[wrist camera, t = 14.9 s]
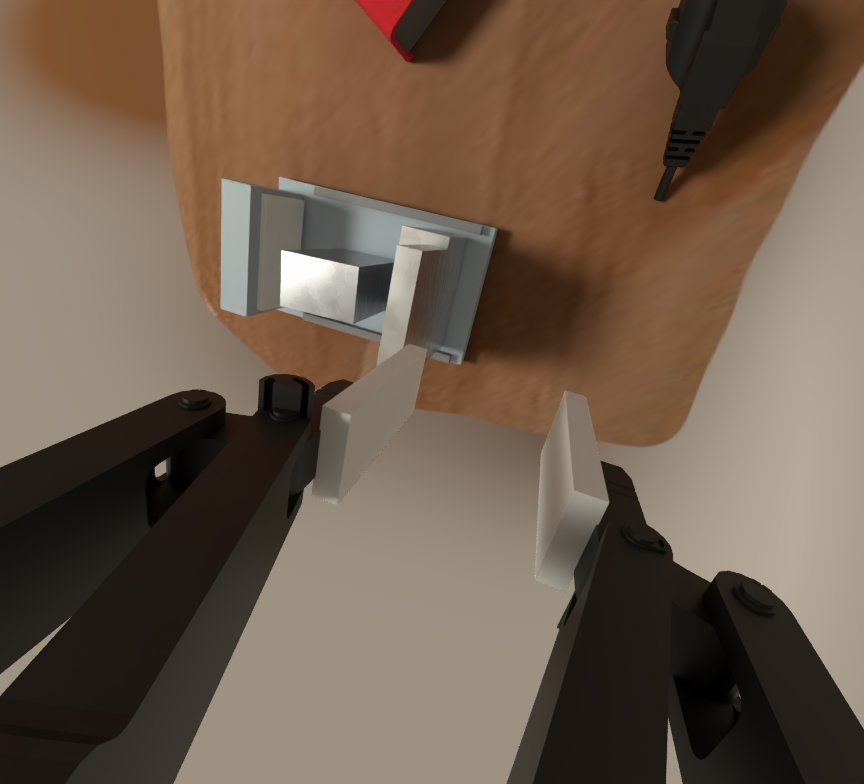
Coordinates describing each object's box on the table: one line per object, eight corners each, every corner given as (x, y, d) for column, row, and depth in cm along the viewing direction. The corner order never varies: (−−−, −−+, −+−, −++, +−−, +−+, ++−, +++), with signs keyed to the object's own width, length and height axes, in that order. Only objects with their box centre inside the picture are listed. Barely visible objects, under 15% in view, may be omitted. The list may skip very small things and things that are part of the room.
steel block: (340, 248, 37) (281, 250, 29) (402, 261, 36) (358, 267, 28) (337, 292, 39) (280, 305, 31) (396, 306, 38) (353, 323, 29)
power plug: (618, 201, 31) (692, -18, 21) (623, 146, 34) (688, -63, 24) (700, 208, 30) (822, -20, 19) (696, 151, 33) (797, -66, 23)
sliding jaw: (428, 228, 34) (366, 221, 23) (467, 237, 34) (425, 236, 22) (406, 336, 38) (344, 377, 27) (442, 347, 37) (394, 392, 26)
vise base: (289, 179, 38) (222, 163, 30) (497, 228, 34) (482, 225, 27) (280, 305, 43) (220, 320, 35) (463, 360, 39) (441, 389, 31)
